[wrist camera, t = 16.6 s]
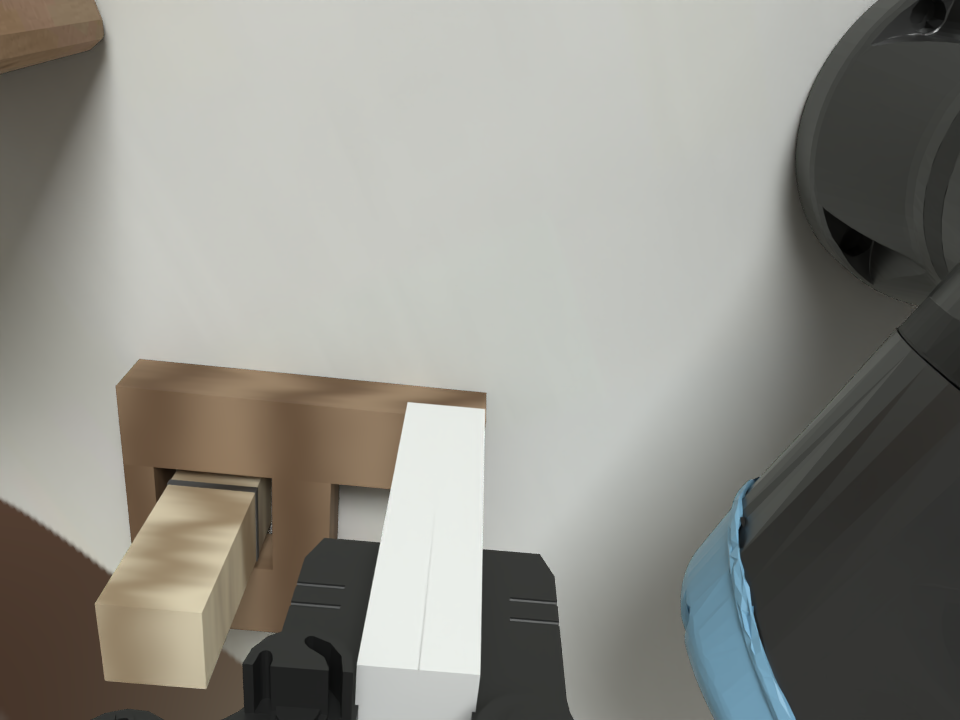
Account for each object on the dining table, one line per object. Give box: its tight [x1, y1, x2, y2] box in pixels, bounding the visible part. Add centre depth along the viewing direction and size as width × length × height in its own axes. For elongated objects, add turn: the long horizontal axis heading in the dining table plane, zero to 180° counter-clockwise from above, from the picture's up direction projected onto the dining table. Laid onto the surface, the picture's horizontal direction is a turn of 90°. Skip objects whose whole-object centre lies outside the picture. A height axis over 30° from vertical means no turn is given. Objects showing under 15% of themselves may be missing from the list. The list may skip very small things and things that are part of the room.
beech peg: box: [95, 469, 272, 689], centre depth 41 cm, size 4×4×12 cm
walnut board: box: [116, 359, 486, 633], centre depth 45 cm, size 18×15×3 cm
